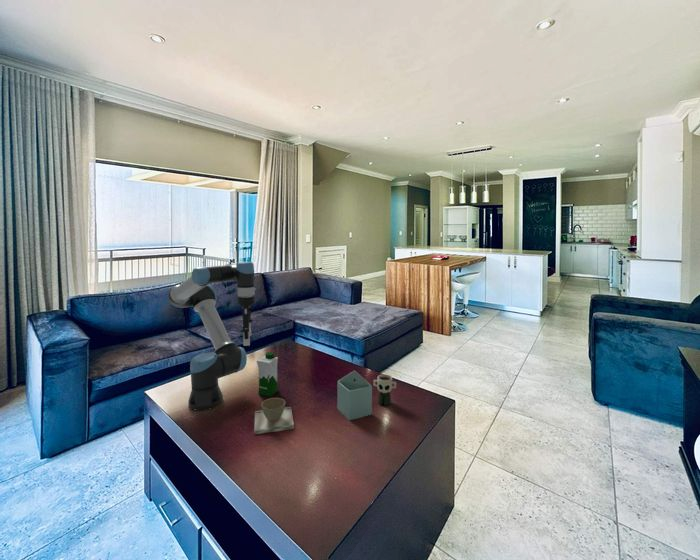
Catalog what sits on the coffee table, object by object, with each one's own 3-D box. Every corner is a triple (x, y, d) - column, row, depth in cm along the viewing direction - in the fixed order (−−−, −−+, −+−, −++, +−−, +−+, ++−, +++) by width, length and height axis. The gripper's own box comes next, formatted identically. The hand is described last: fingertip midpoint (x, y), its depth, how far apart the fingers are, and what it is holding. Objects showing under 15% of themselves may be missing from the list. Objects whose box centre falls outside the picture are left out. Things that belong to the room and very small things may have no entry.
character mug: (371, 405, 157) (372, 379, 156) (374, 398, 164) (374, 373, 162) (394, 408, 155) (395, 381, 153) (396, 400, 162) (397, 375, 160)
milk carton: (280, 390, 172) (279, 353, 169) (270, 398, 164) (269, 359, 161) (266, 387, 175) (265, 350, 173) (255, 394, 167) (254, 356, 164)
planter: (331, 417, 147) (331, 374, 144) (337, 408, 155) (337, 367, 152) (367, 423, 142) (368, 379, 139) (371, 414, 150) (372, 372, 147)
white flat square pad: (254, 434, 134) (254, 431, 134) (255, 413, 149) (255, 411, 149) (294, 428, 138) (294, 425, 138) (291, 409, 153) (291, 406, 153)
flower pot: (280, 426, 138) (279, 410, 137) (257, 423, 140) (257, 407, 139) (289, 413, 147) (288, 398, 146) (268, 411, 149) (267, 396, 148)
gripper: (253, 301, 140) (255, 349, 143) (255, 290, 164) (256, 332, 167) (235, 301, 138) (236, 350, 141) (239, 291, 162) (240, 332, 165)
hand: (247, 340), depth 154 cm, fingers open, 13 cm apart
